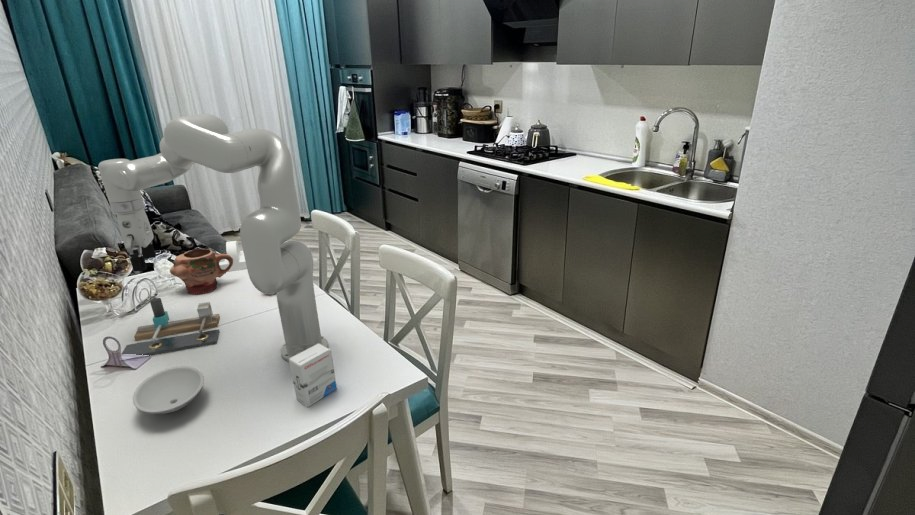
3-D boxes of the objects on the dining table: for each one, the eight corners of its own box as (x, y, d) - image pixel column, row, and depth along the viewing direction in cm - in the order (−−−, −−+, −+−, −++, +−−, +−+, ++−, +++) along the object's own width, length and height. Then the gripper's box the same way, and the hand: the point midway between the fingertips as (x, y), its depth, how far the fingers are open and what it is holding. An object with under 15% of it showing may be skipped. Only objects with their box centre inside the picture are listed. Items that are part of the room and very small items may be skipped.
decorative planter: (235, 275, 179) (228, 241, 174) (239, 287, 169) (231, 251, 164) (176, 288, 170) (166, 252, 165) (176, 301, 160) (166, 264, 155)
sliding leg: (160, 342, 132) (152, 315, 129) (148, 344, 132) (139, 317, 128) (170, 322, 143) (162, 296, 140) (159, 323, 142) (151, 298, 139)
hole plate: (216, 343, 134) (215, 340, 134) (120, 361, 128) (118, 357, 127) (219, 331, 141) (218, 328, 140) (127, 347, 134) (126, 344, 133)
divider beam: (214, 339, 137) (209, 319, 135) (127, 354, 131) (121, 334, 128) (220, 317, 149) (215, 299, 146) (140, 330, 142) (134, 312, 140)
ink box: (325, 381, 117) (319, 341, 113) (337, 389, 114) (331, 348, 110) (295, 399, 111) (287, 357, 106) (307, 408, 108) (299, 365, 104)
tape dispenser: (260, 267, 186) (255, 242, 182) (210, 275, 181) (204, 249, 177) (261, 259, 195) (256, 235, 191) (213, 266, 189) (207, 241, 185)
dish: (138, 395, 114) (132, 378, 112) (204, 375, 121) (199, 358, 119) (138, 440, 100) (131, 421, 98) (212, 414, 107) (207, 396, 105)
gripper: (134, 212, 120) (152, 273, 127) (151, 196, 135) (167, 251, 142) (100, 216, 118) (120, 277, 125) (121, 199, 133) (138, 255, 140)
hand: (145, 263), depth 133 cm, fingers open, 9 cm apart
